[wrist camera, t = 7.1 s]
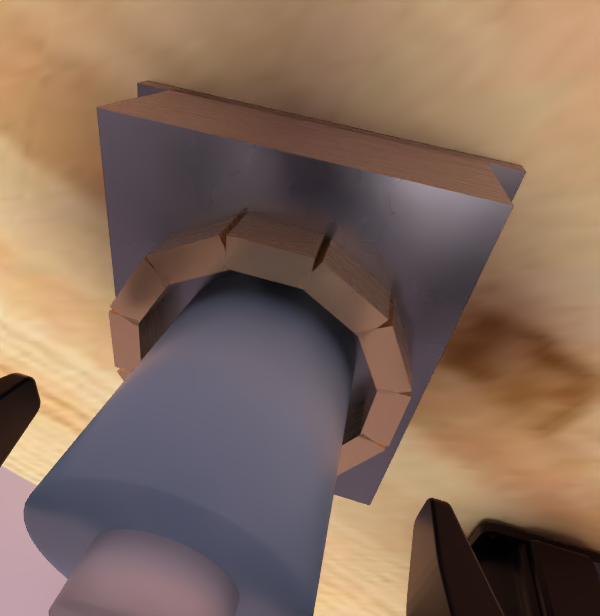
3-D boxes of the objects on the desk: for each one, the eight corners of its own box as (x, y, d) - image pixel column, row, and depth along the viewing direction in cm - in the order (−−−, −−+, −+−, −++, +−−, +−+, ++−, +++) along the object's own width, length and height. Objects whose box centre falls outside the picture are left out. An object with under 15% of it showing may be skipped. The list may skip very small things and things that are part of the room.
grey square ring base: (400, 425, 18) (397, 548, 14) (157, 355, 19) (82, 450, 14) (521, 165, 12) (584, 242, 7) (148, 81, 13) (12, 104, 8)
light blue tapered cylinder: (334, 433, 13) (274, 745, 7) (182, 389, 14) (14, 651, 8) (377, 301, 10) (332, 641, 4) (183, 251, 11) (-81, 503, 5)
